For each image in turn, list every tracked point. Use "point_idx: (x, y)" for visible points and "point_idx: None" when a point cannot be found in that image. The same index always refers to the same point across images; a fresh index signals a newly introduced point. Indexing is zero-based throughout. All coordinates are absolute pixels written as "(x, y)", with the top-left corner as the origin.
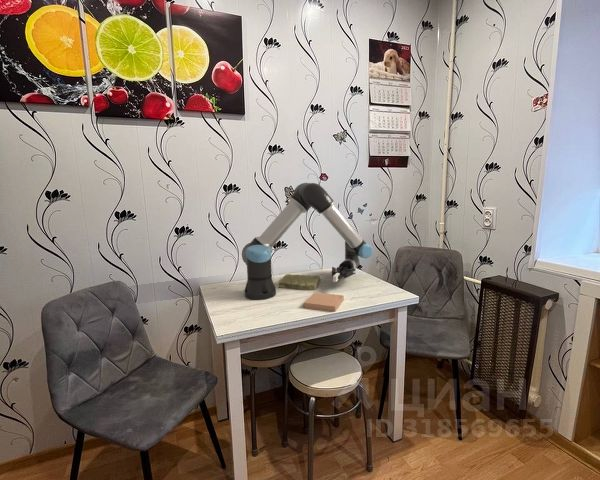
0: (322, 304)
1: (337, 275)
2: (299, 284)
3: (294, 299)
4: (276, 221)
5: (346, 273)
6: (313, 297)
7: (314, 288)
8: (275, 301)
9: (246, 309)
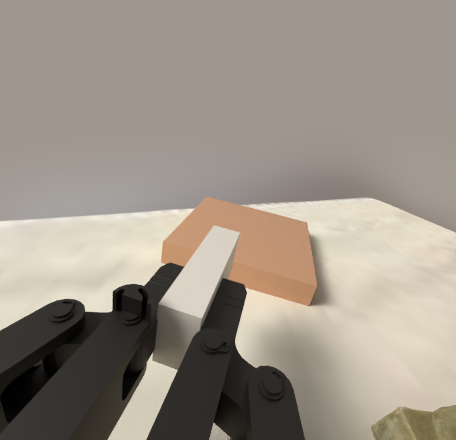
0: (246, 208)
1: (198, 247)
2: None
3: (377, 287)
4: None
5: (38, 315)
6: (294, 243)
7: (385, 420)
8: (425, 279)
9: (438, 247)
